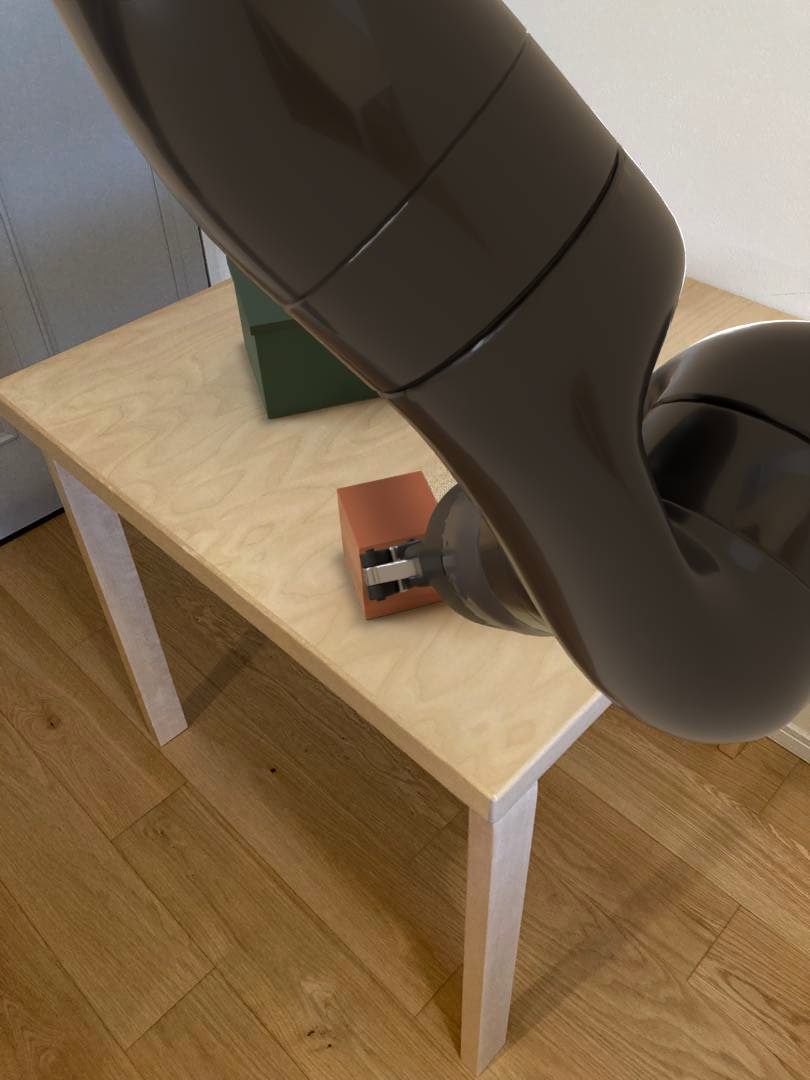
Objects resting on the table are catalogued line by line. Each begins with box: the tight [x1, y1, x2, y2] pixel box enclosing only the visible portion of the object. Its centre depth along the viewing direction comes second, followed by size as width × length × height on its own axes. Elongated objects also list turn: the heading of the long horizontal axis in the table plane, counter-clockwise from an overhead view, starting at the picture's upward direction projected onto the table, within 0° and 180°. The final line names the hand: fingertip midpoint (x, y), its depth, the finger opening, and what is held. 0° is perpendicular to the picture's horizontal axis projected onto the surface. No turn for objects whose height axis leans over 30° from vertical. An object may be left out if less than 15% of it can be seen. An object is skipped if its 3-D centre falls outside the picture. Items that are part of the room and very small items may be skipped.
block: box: [336, 470, 444, 620], centre depth 71 cm, size 7×7×8 cm
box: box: [225, 255, 381, 420], centre depth 92 cm, size 15×15×11 cm
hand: (440, 553), depth 56 cm, fingers closed
